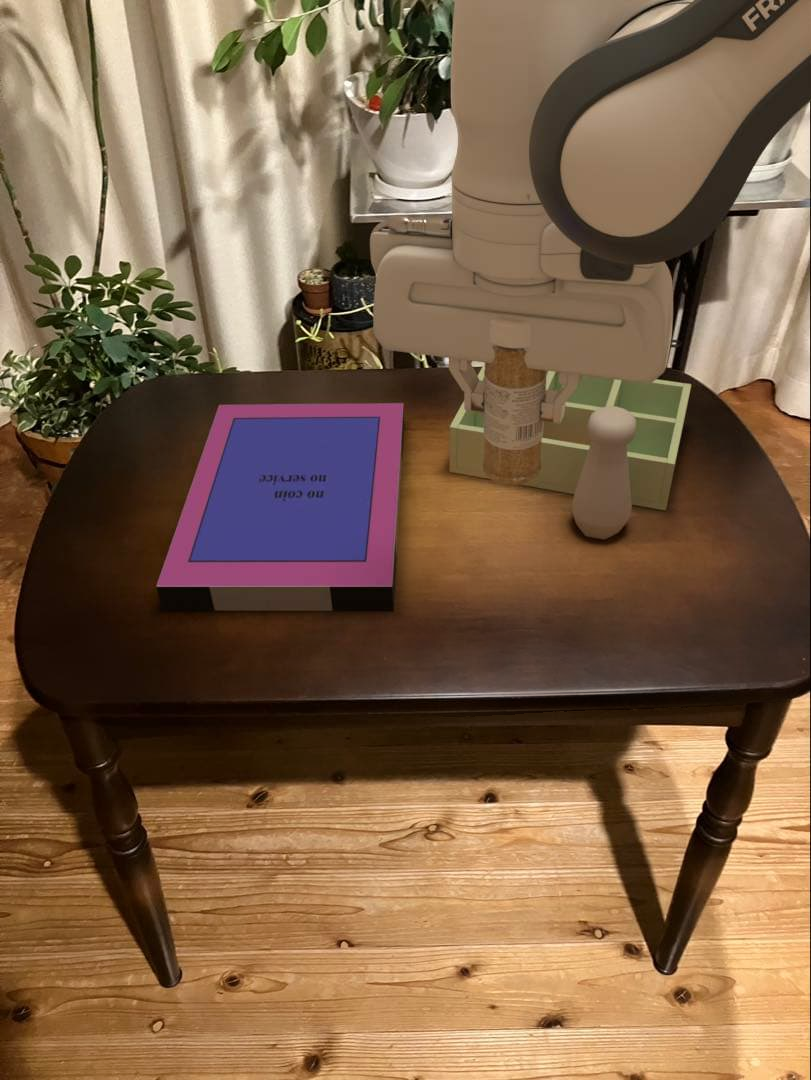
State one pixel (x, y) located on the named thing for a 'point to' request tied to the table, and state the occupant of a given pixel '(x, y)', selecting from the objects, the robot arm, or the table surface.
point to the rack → (569, 441)
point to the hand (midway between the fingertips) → (514, 413)
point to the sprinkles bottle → (512, 407)
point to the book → (291, 511)
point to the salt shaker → (605, 475)
